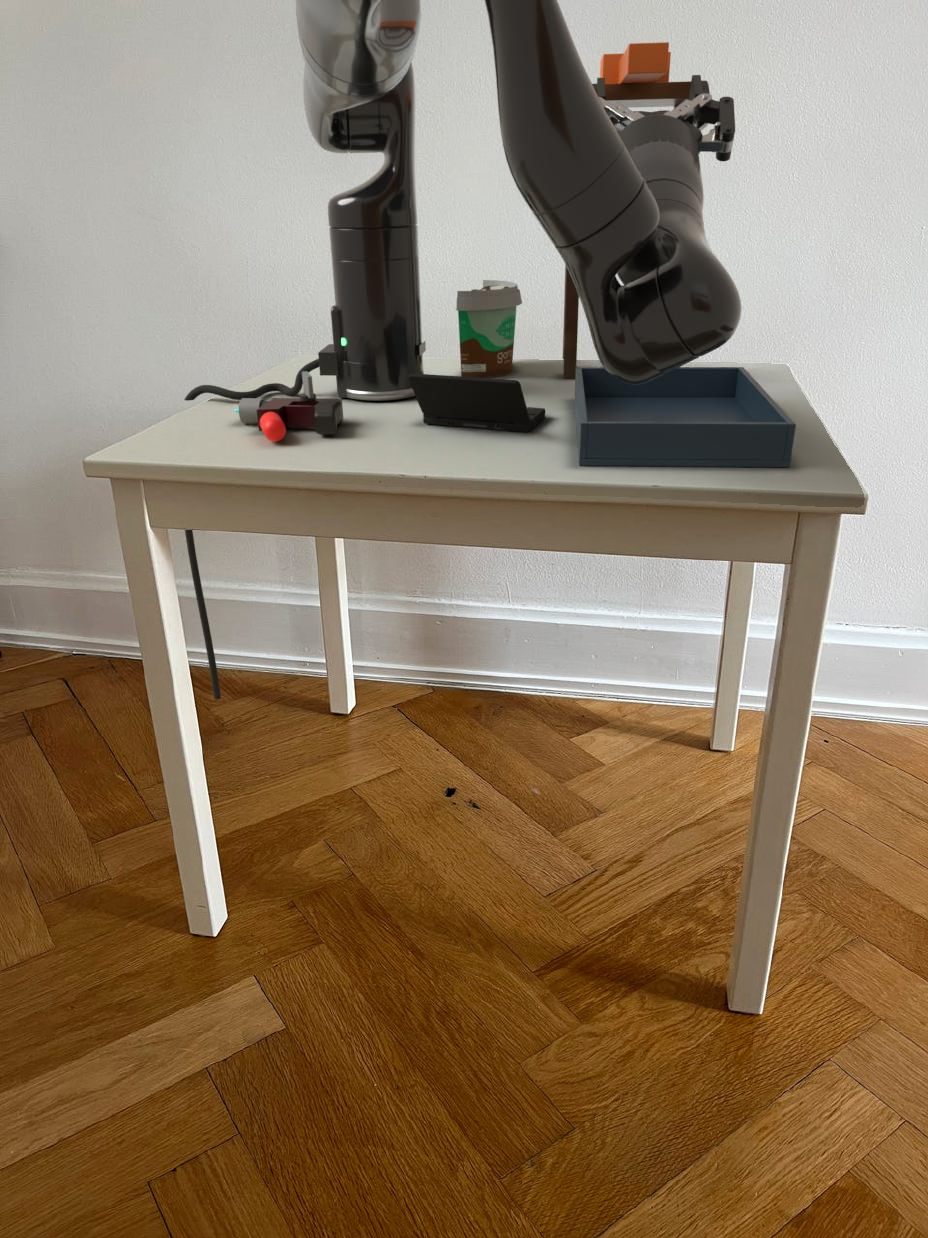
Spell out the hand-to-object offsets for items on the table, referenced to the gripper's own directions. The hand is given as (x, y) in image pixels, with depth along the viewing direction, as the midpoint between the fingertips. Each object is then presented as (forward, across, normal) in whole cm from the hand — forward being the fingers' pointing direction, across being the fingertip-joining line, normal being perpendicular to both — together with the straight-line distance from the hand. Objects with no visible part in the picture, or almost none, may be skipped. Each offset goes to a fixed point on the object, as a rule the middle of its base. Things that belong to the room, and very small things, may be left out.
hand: (646, 86), depth 82 cm
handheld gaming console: (-23, +15, +20) cm, 34 cm away
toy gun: (-26, +34, +19) cm, 47 cm away
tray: (-24, -3, +19) cm, 31 cm away
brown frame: (+2, 0, +34) cm, 34 cm away
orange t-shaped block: (+11, 0, +5) cm, 12 cm away
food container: (-1, +15, +33) cm, 36 cm away
